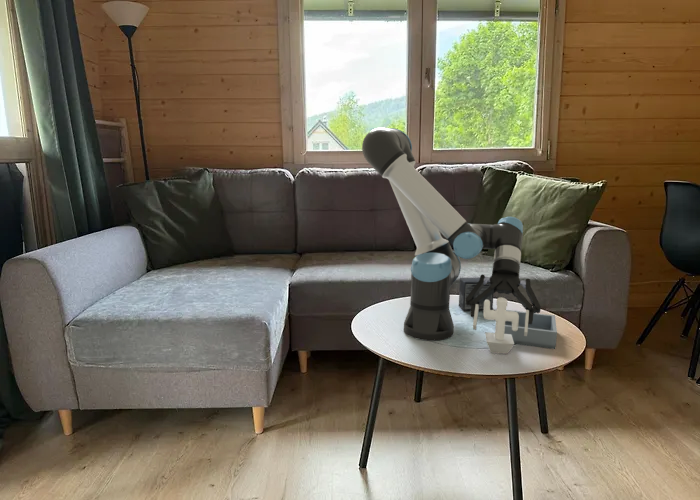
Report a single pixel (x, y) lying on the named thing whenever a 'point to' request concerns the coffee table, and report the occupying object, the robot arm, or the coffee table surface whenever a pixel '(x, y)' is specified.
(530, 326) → the tray
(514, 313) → the figurine
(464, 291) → the small box
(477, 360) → the coffee table surface
